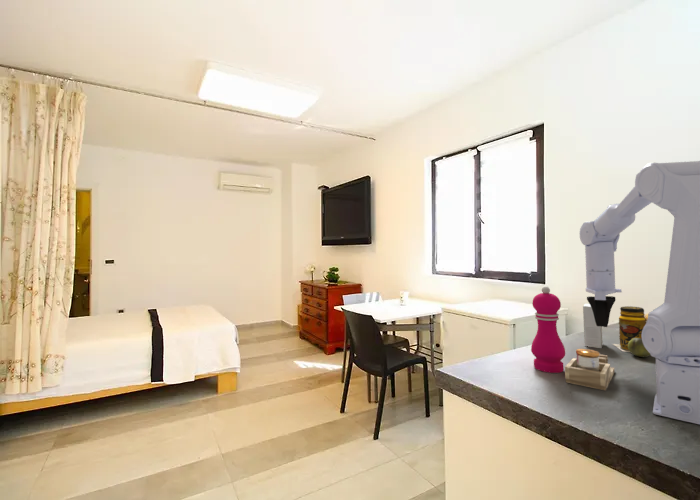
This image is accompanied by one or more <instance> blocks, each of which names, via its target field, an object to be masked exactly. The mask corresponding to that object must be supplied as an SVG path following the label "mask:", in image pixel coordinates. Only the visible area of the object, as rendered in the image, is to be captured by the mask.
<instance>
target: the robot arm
mask: <svg viewBox="0 0 700 500" xmlns="http://www.w3.org/2000/svg"><path fill="white" fill-rule="evenodd" d="M650 204H654V205H655V206H658V207H659V208H661V209H664V210H667V211H668V213H670V214H671V215H672V216H673V226H672V236H671V243H670V244H671V245H670V251H669V261H668V267H667V274H666V275H667V276H666V285H665V292H664V300H663V301H664V302H663V303H662V304H660V305H659V306H658V307H655V309H652V311H650V312H649V313H648V314H647V315H648V316H647V319H646V320H647V321H646V325H645V326H644V328H643V330H642V342H643V345H644V347H645V348H646V350H647V351H648V352H649V353H650V356H651V357H652V358H655V376H656V377H655V379H656V394H655V395H654V400H653V408H652V414H654V415H657V416H660V417H661V416H662V417H666V418H669V419H674V420H678V421H683V422H687V423H692V424H697V425H700V160H694V161H690V160H689V161H675V162H673V161H672V162H649V163H647V164H645V165H644V166H643V167H642V168H641V170H640V171H639V172H638V173H637V174H635V180H634V187H633V188H632V189H631V190H630V191H629V193H627V194H626V196H625V197H624V198H623V199H622V201H620V203H613V204H609V205H607V207H606V209H605V210H604V211H603V212H602V213H601V214H600V215H599V216H597V217H596V219H594V220H591V221H584V222H583V223H582V224H581V226H580V228H579V239H580V242H581V244H582V245H583V246H584V247H585V248H584V250H585V272H586V273H585V277H586V278H585V281H586V288H585V292H587V293H590V294H592V295H594V296H591V295H590V296H586V300H587V302H588V304H590V305H591V308H592V310H593V314H594V318H595V322H596V325H597V326H601V327H602V328H603V327H604V328H605V327H606V328H607V327H608V325H609V322H610V316H611V311H612V307H613V306H614V304H615V302H616V296H610V295H611V294H615V293H623V291H622V288H616V270H615V269H616V268H615V252H617V249H618V242H619V239H620V235H621V233H622V232H624V231H625V230H626V229H627V228H629V227H630V226H631V225H632V224H633V223H634V222H635V221H636V214H637V213H638V212H640V211H642V210H643V209H644V208H646V207H648V206H649V205H650Z"/></svg>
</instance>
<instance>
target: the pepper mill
mask: <svg viewBox="0 0 700 500" xmlns="http://www.w3.org/2000/svg"><path fill="white" fill-rule="evenodd" d="M550 292H551V289H550V288H549V286H543V287H542V289H541V293H538V294H536V295H535V296H534V297H533V299H532V307H533V309H534V310H535V313H534V314H535V319H536V320H537V330H536V331H537V332H536V333H535V336H534V338H533V340H532V342H531V347H530V348H531V349H530V351H531V353H532V355H533V356H534V359H533V367H534V369H536V370H537V371H541V372H543V373H549V374H550V373H551V374H557V373H558V374H559V373H562V372H564V371H565V367H564V362H562V360H563V359H564V358H565V356H566V348H565V346H564V343H563V341H562V340H561V337H560V335H559V334H558V333H559V332H558V329H557V323H558V322H557V321H558V320H559V319H560V318H559V313H558V311H559V310H561V305H562V304H561V300H560V298H559V297H558V295H555V294H553V293H550Z"/></svg>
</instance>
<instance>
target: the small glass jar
mask: <svg viewBox="0 0 700 500" xmlns="http://www.w3.org/2000/svg"><path fill="white" fill-rule="evenodd" d="M575 353H576V359H577V368H582V369H587V370H593V371H599V354H600V352H599V351H598V350H594V349H588V348H577V349H575Z"/></svg>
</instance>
